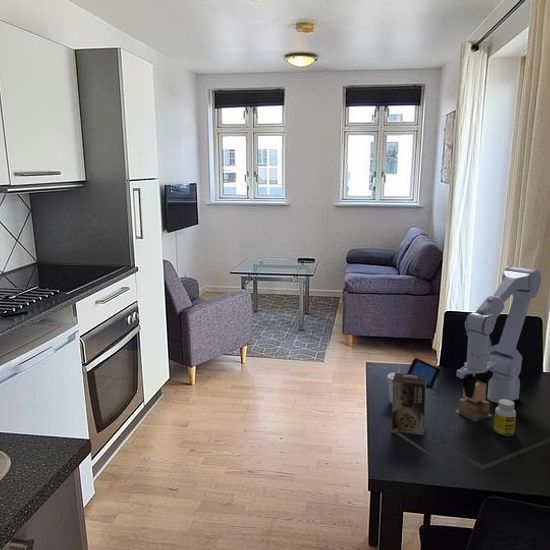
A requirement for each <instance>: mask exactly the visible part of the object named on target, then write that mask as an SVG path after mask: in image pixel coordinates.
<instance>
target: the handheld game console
mask: <svg viewBox="0 0 550 550" xmlns="http://www.w3.org/2000/svg"><path fill="white" fill-rule="evenodd" d="M440 372H441V369H440V368H439V367H438V366H437V367H436V366H434V365H432V364H430V363H428V362H426V361H424V360H422V359H419V358H416V357H415V358H413V360H412V362H411V364H410V366H409V369H408V371H407V373H406V374H413V375H423V376H426V390H427V389H433V387H434V385H435V383H436V381H437V379H438V377H439V375H440Z"/></svg>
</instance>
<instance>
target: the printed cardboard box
mask: <svg viewBox="0 0 550 550" xmlns="http://www.w3.org/2000/svg"><path fill="white" fill-rule="evenodd" d="M394 373H395V375H394V378H393V400H392V403H391V405H392V406H391V407H392V408H391V411H392V413H391V433H392V434H399V435H402V433H406V434H413V435H414V434H415V435H421V436H424V435H425V427H426V425H425V423H426V401H427V399H426V396H427V395H426V394H427V389H426V376H423V375H413V374H407V373H403V374H402V372H400V373H398V372H394Z"/></svg>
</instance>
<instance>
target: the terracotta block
mask: <svg viewBox="0 0 550 550" xmlns="http://www.w3.org/2000/svg"><path fill="white" fill-rule="evenodd" d="M462 391H463V392H462V398H466V399H468V400H470V401H473V402H475V403H476V402H479V401H482V400H485V401H486V398H487V397H486V395H487V394H486V393H487V387H486V383H484V382H481V381H479V380H477V382H476V384H475V387H474V393H473V397H472V398H469V397H467V396H465V391H464V387H463V389H462Z"/></svg>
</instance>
